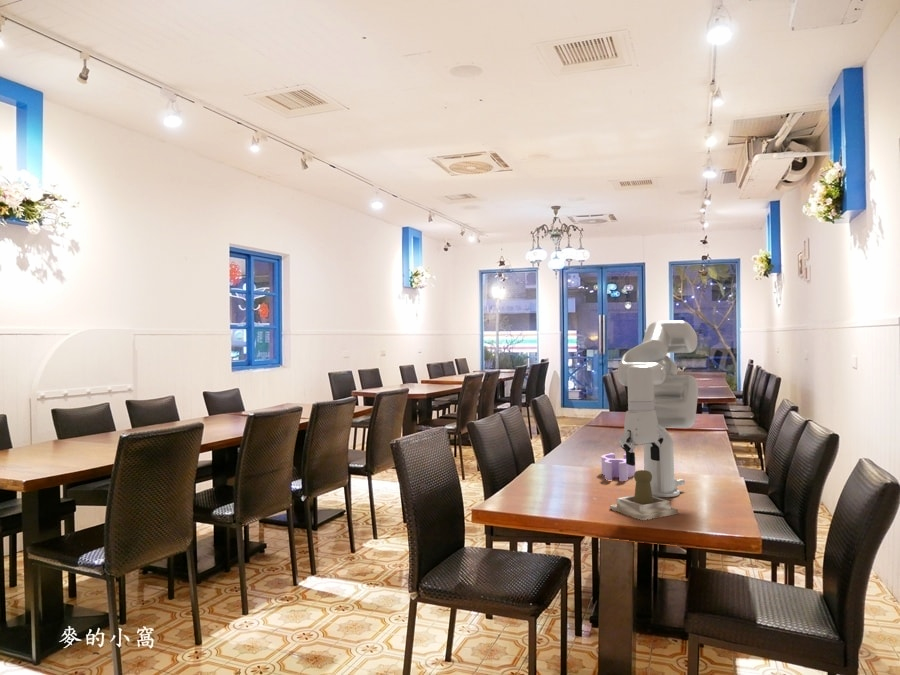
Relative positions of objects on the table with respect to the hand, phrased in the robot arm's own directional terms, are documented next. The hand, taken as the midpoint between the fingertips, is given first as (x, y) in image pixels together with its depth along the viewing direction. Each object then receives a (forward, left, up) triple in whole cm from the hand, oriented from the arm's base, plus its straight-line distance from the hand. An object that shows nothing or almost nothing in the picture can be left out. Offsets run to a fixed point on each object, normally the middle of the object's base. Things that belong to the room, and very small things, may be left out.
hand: (643, 462), depth 193 cm
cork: (+1, 0, -14) cm, 14 cm away
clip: (-26, -41, -15) cm, 51 cm away
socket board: (+1, +1, -15) cm, 15 cm away
